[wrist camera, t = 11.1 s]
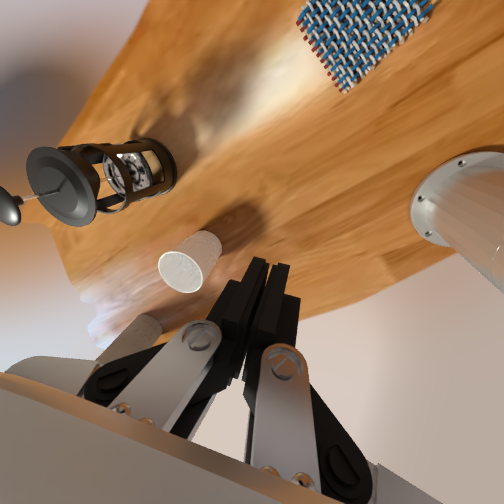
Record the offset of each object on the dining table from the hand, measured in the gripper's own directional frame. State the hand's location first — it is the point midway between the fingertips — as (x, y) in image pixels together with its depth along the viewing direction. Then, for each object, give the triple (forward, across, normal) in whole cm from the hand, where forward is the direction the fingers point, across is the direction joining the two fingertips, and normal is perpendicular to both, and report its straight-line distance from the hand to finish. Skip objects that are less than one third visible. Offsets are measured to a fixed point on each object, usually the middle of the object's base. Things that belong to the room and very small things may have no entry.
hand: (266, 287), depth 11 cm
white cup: (+28, +16, +16) cm, 36 cm away
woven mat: (+29, -2, -18) cm, 34 cm away
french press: (+28, +26, +3) cm, 39 cm away
